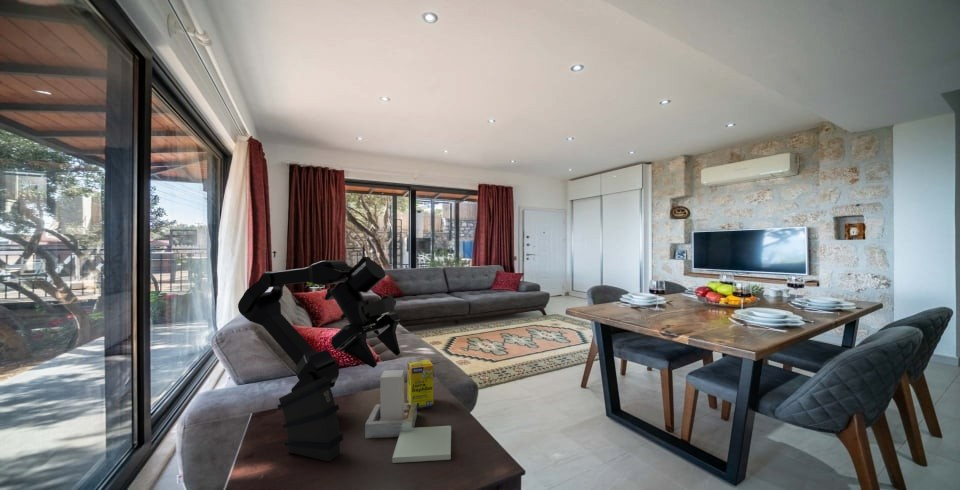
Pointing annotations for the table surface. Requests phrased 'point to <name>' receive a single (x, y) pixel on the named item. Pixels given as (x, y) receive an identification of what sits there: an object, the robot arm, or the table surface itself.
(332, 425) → the black ridged block stack
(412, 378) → the supplement box
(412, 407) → the holder collar
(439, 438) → the sage pad
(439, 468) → the table surface
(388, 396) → the plug
